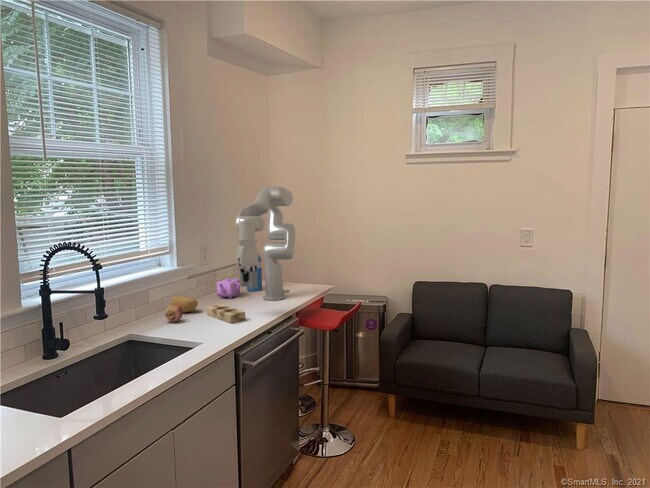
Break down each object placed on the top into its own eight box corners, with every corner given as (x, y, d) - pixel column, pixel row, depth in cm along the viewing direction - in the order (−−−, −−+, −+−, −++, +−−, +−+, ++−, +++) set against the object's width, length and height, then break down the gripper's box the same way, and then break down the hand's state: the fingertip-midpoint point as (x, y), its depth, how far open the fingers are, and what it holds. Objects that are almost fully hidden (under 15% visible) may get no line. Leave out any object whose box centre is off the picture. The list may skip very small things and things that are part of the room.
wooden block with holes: (221, 311, 249) (220, 304, 249) (245, 320, 233) (245, 311, 233) (207, 314, 244) (206, 307, 243) (230, 323, 228) (230, 315, 227)
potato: (190, 315, 243) (190, 299, 242) (167, 313, 248) (166, 297, 247) (202, 311, 252) (201, 295, 251) (180, 308, 257) (179, 293, 256)
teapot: (243, 298, 278) (242, 279, 277) (219, 300, 274) (218, 281, 272) (238, 293, 292) (237, 275, 291) (215, 295, 288) (214, 277, 287)
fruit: (162, 322, 232) (161, 305, 231) (177, 318, 238) (176, 302, 237) (171, 325, 227) (170, 307, 226) (186, 321, 233) (185, 304, 232)
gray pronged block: (240, 285, 242) (239, 269, 241) (245, 285, 244) (245, 269, 244) (252, 288, 235) (251, 272, 234) (257, 287, 237) (257, 271, 236)
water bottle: (261, 291, 296) (259, 250, 293) (245, 291, 296) (244, 250, 293) (263, 288, 305) (261, 248, 302) (248, 288, 305) (246, 248, 303)
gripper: (256, 241, 246) (257, 277, 248) (228, 244, 234) (229, 282, 237) (265, 242, 240) (266, 279, 242) (237, 245, 229) (238, 284, 231)
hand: (248, 280), depth 239 cm, fingers closed on gray pronged block, 3 cm apart
